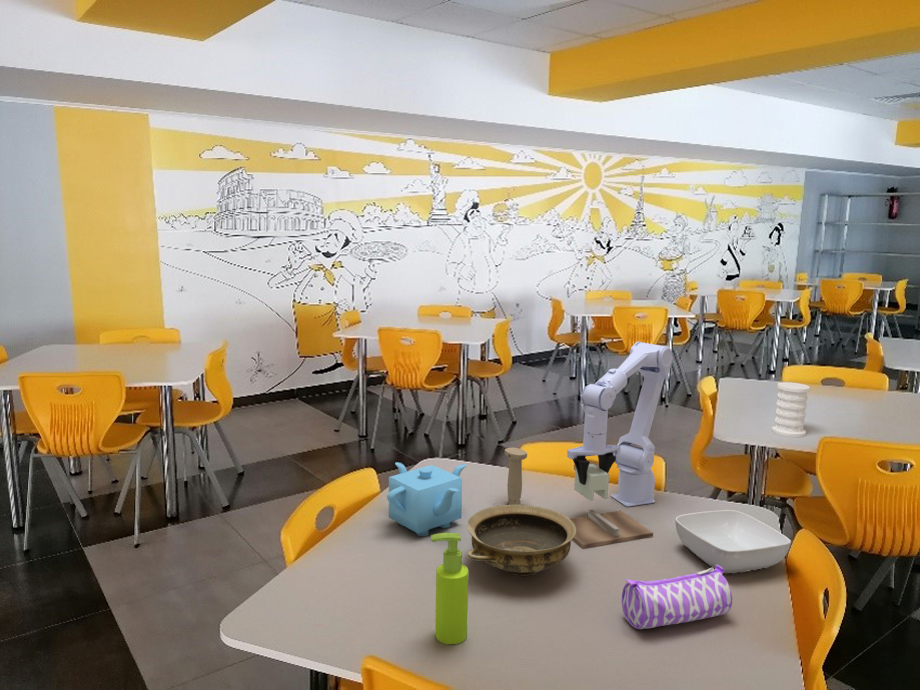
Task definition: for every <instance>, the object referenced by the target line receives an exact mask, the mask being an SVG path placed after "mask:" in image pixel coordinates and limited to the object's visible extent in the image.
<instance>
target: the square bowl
mask: <svg viewBox="0 0 920 690" xmlns="http://www.w3.org/2000/svg"><path fill="white" fill-rule="evenodd" d="M675 529H676V533H677V536H678V537H679V539H680V541H681V542H682V543H683V545H684V546H685V547H686V548H688V549H689V551H691V552H692V553H693V554H694V555H695V554H696V557H698V558H699V559H700V560H702V561H703V562H704V563H706V564H707V565H708V566H710V567H711V566H712V567H711V568H716V565H719V566H721V567H722V568H723V569H724V573H732V574H736V573H735V572H740V573H743V572H742V571H747V572H749V571H748V570H754V571H756V570H755V569H760V570H762V569H761V568H765V567H768V568H770V567H772V566H775V565H778V564H779V563H780V562H781V561H782V560H784V559H785V557H786V556H787V554H788V552H789V550H790V548H791V544H792V540H791V539H790V538H789V537H787V536H786V535H784V534H783V533H781V532H780V531H778V530H776V529H775V528H773V527H771V526H770V525H768V524H767V523H764V522H763V521H761V520H759V519H757V518H755V517H753V516H752V515H749V514H748V513H745V512H741V511H738V510H734V509H733V510H732V509H722V510H720V509H719V510H718V509H717V510H708V511H707V510H706V511H700V512H691V513H685V514H680V515H677V516H676V517H675ZM769 566H770V567H769ZM765 569H766V568H765Z"/></svg>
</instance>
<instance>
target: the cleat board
mask: <svg viewBox="0 0 920 690" xmlns="http://www.w3.org/2000/svg"><path fill="white" fill-rule="evenodd" d="M568 518H569V517H568ZM569 519H570V520H571V521H572V522H573V523H574V525H575V527H576V534H575V536H574V538H573V539H572V540H571V541H573V543H575V544H576V545H578V546H579V547H580V548H581V549H583V550H584V549H588V548H596V547H600V546H605V545H612V544H618V543H623V542H628V541H635V540H641V539H646V538H651V537H654V532H653V531H652V530H650V529H649V528H647V527H646V526H644V525H643V524H641V522H638V520H635V519H634V518H633V517H632V516H629V515H628V514H627V513H625V512H624V511H622V510H615V511H609V512H608V511H607V512H601V513H599V512H597V511H595V510H594V509H592V508H591V509H588V513H587V515H584V516H583V515H582V516H576V517H570V518H569Z"/></svg>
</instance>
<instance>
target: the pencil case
mask: <svg viewBox="0 0 920 690" xmlns="http://www.w3.org/2000/svg"><path fill="white" fill-rule="evenodd" d="M723 573H724V569H723V568H722V567H721V566H719V565H716V568H715V569H714V568H713V567H710V568H708V569H704V570H700V571H698V572H695V573H691V574H685V575H679V576H676V577H671V578H663V579H657V580H647V581H646V580H635V579H627V578H625V579H624V580H625V582H626V583H625V584H624V586H623V588H622V592H621V609H622V613H623V615H624V617H625V619H626V621H627V622H628V623H629V625H630V626H631V627H633V628H634V629H636V630H644V629H652V628H658V627H662V626H663V627H664V626H670V625H677V624H682V623H683V624H684V623H689V622H694V621H698V620H704V619H708V618H714V617H718V616H722V615H726V614H727V613H729V611H730V610H731V608H732V606H733V594H732V593H733V592H732V590H731V587H730V584H729V582H728V580H727V579H726V578H725V576H724V574H723Z"/></svg>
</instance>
